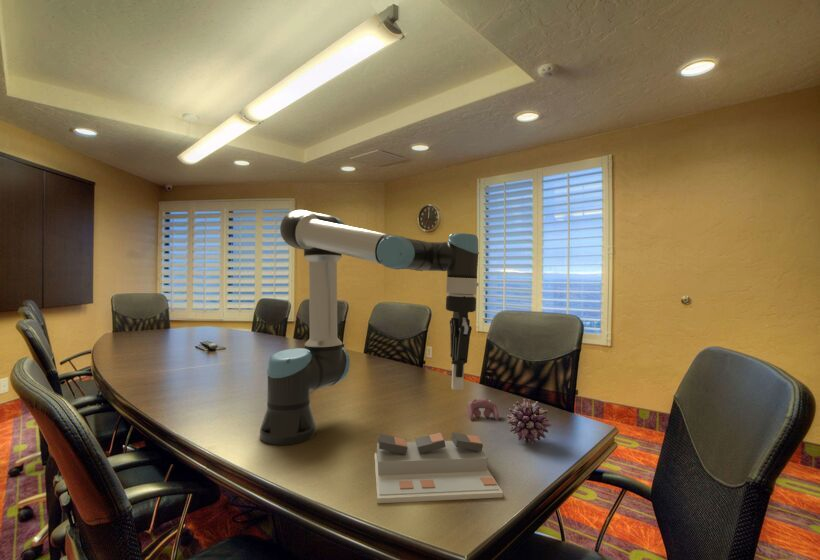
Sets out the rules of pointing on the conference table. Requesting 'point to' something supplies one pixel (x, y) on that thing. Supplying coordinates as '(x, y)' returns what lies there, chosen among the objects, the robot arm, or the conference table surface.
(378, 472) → the switch panel
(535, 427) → the flower
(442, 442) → the middle switch
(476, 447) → the right switch
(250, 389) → the conference table surface
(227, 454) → the conference table surface
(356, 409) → the conference table surface
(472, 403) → the video game controller
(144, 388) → the conference table surface
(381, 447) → the left switch
